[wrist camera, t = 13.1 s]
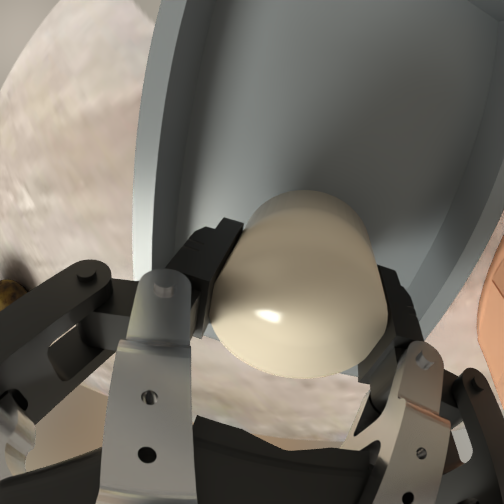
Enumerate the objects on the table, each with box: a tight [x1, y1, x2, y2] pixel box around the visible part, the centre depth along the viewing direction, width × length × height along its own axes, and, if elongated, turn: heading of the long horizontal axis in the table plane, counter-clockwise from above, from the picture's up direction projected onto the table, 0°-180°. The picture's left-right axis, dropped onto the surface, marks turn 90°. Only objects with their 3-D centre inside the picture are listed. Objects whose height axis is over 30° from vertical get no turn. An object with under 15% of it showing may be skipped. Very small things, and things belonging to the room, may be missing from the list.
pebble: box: [209, 190, 388, 379], centre depth 9 cm, size 5×5×4 cm
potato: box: [0, 279, 27, 311], centre depth 22 cm, size 8×13×8 cm, turn 111°
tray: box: [132, 0, 504, 377], centre depth 10 cm, size 20×14×4 cm
